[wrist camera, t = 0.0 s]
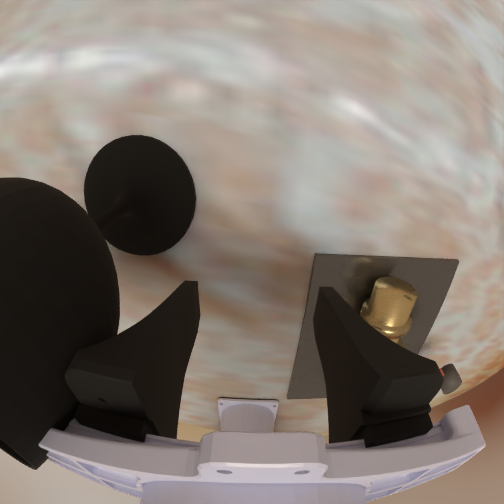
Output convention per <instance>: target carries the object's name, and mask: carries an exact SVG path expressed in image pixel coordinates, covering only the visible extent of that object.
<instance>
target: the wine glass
mask: <svg viewBox="0 0 504 504" xmlns="http://www.w3.org/2000/svg"><path fill="white" fill-rule="evenodd" d="M84 198H85V204H86V209H87V212H88V214H89V215H88V214H87V212H86V211H85V210H84V209H83V208H82V207H81V206H80V205H79V204H78V203H77V202H76V201H74V200H73V199H71V198H70V197H69V196H67V195H66V194H64V193H63V192H62V191H60V190H58V189H56V188H54V187H51V186H49V185H47V184H45V183H42V182H39V181H35V180H30V179H26V178H0V448H1V449H2V450H3V451H5V452H6V453H8V454H9V455H10V456H12V457H13V458H15V459H16V460H18V461H19V462H21V463H23V464H24V465H26V466H28V467H30V468H32V469H35V470H36V469H38V468H39V467H40V466H41V465H42V464H43V463H44V462H45V461H46V460H47V459H48V458H49V457H48V456H47V455H46V454H47V453H48V452H49V451H48V450H45V449H43V448H41V447H40V446H39V443H40V442H41V441H42V439H43V438H44V437H45V435H46V434H47V433H48V431H49V430H50V429H51V428H54V429H58V430H61V431H65V429H66V428H67V427H68V426H69V423H70V421H71V420H73V419H74V415H75V413H76V410H77V408H78V406H79V404H80V402H79V401H78V399H77V398H76V396H75V395H74V393H73V392H72V390H71V389H70V388H69V386H68V384H67V382H66V380H65V372H66V370H67V368H68V367H69V365H70V363H71V361H72V359H73V358H74V356H75V354H76V353H77V351H78V350H80V349H83V348H86V347H89V346H92V345H95V344H98V343H100V342H103V341H105V340H107V339H109V338H112V337H114V336H116V335H117V333H118V327H119V318H120V299H119V287H118V279H117V273H116V269H115V265H114V262H113V259H112V255H111V253H110V250H109V248H108V245H107V243H106V241H105V240H107V241H108V242H109V243H110V244H111V245H113V246H115V247H116V248H118V249H120V250H122V251H124V252H127V253H131V254H135V255H153V254H158V253H161V252H163V251H166V250H167V249H169V248H171V247H173V246H174V245H175V244H176V243H177V242H178V241H179V240H180V239H181V238H182V237H183V236H184V234H185V233H186V231H187V229H188V228H189V226H190V224H191V221H192V218H193V215H194V210H195V200H196V197H195V189H194V184H193V180H192V177H191V175H190V173H189V170H188V168H187V166H186V165H185V163H184V162H183V160H182V159H181V158H180V156H179V155H178V154H177V153H176V152H175V151H174V150H173V149H172V148H170V147H169V146H168V145H167V144H165V143H163V142H161V141H160V140H157V139H155V138H152V137H148V136H143V135H130V136H125V137H121V138H118V139H116V140H113V141H112V142H110V143H108V144H107V145H105V146H104V147H103V148H102V149H101V150H100V151H99V152H98V153H97V154H96V156H95V157H94V158H93V160H92V162H91V164H90V165H89V168H88V171H87V174H86V178H85V184H84Z"/></svg>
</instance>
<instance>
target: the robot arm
mask: <svg viewBox="0 0 504 504" xmlns="http://www.w3.org/2000/svg"><path fill="white" fill-rule="evenodd" d="M199 320H200V305H199V294H198V281H184V282H183V283H182V284H181V285H180V286H179V287H178V288H177V289H176V290H175V291H174V292H173V293H172V294H171V295H170V296H169V297H168V298H167V299H166V300H165V301H164V302H163V303H161V304H160V305H159V306H158V307H157V308H156V309H155V310H153V311H152V312H151V313H150V314H149V315H148V316H146V317H145V318H144V319H142V320H141V321H139V322H138V323H136V324H135V325H133V326H132V327H130V328H128V329H126V330H125V331H123V332H121V333H119V334H118V335H116V336H114V337H112V338H109V339H107V340H105V341H103V342H100V343H98V344H95V345H92V346H89V347H86V348H83V349H80V350H78V351H77V353H76V354H75V356H74V358H73V359H72V361H71V363H70V365H69V367H68V368H67V370H66V372H65V380H66V382H67V384H68V386H69V388H70V389H71V390H72V392H73V393H74V395H75V396H76V398H77V399H78V401H79V402H80V404H79V406H78V408H77V410H76V413H75V415H74V419H73V420H71V421H70V423H69V426H68V427H67V428H66V429H65V431H61V430H58V429H54V428H51V429H50V430H49V431H48V433H47V434H46V435H45V437H44V438H43V439H42V441H41V442H40V443H39V446H40V447H41V448H43V449H45V450H48V451H49V452H48V453H47V454H46V455H47V456H48V457H49V458H48V460H50V461H52V462H53V463H55V464H58V465H60V466H62V467H64V468H66V469H68V470H70V471H72V472H74V473H76V474H79V475H81V476H83V477H85V478H88V479H90V480H92V481H95V482H97V483H99V484H102V485H104V486H107V487H110V488H112V489H115V490H118V491H120V492H123V493H126V494H129V495H133V496H135V497H139V498H141V502H140V504H366V502H368V501H372V500H375V499H379V498H382V497H385V496H389V495H391V494H395V493H397V492H400V491H403V490H406V489H409V488H412V487H414V486H417V485H419V484H422V483H424V482H427V481H429V480H432V479H434V478H437V477H439V476H441V475H443V474H446V473H448V472H450V471H453V470H455V469H456V468H457V467H459V466H460V465H462V464H463V463H465V462H466V461H467V460H469V459H470V458H471V457H473V456H474V455H475V454H476V453H478V452H479V451H480V450H482V449H483V448H484V447H485V445H486V444H485V441H484V439H483V437H482V434H481V432H480V429H479V427H478V424H477V422H476V420H475V418H474V415H473V413H472V411H471V409H470V406H469V405H466V406H463V407H460V408H457V409H454V410H452V411H450V412H448V413H447V414H445V415H444V416H443V418H442V419H441V420H440V421H439V422H436V423H433V424H432V422H431V419H430V416H429V414H428V413H429V412H430V411H431V407H430V405H429V403H430V402H431V400H432V399H433V398H434V397H435V395H436V394H437V393H438V391H439V390H440V388H441V387H442V385H443V381H444V378H443V375H442V373H441V371H440V369H439V367H438V365H437V364H436V362H435V361H433V360H430V359H428V358H425V357H422V356H420V355H418V354H415V353H413V352H411V351H409V350H407V349H405V348H404V347H402V346H400V345H398V344H397V343H395V342H393V341H392V340H390V339H389V338H387V337H386V336H384V335H383V334H381V333H380V332H379V331H377V330H376V329H375V328H374V327H372V326H371V325H370V324H369V323H368V322H366V321H365V320H364V319H363V318H362V317H361V316H360V315H359V314H358V313H357V312H356V311H355V310H354V309H353V308H352V307H351V306H350V305H349V304H348V303H347V302H346V301H345V300H344V299H343V298H342V297H341V296H340V295H339V293H338V292H337V291H336V290H335V289H334V288H333V287H323V286H320V287H319V292H318V297H317V302H316V307H315V311H314V316H313V327H314V335H315V341H316V345H317V349H318V353H319V357H320V361H321V365H322V369H323V373H324V378H325V385H326V394H327V405H328V421H329V444H325V441H324V437H323V436H321V435H318V434H316V433H314V432H301V431H299V432H274V423H275V419H276V414H277V410H278V405H279V402H278V401H277V400H246V399H227V398H219V399H218V410H219V418H220V431H214V432H211V433H208V434H205V435H204V436H203V437H202V439H201V442H192V441H185V440H178V439H177V427H178V418H179V409H180V402H181V395H182V389H183V383H184V377H185V373H186V369H187V366H188V362H189V359H190V356H191V352H192V349H193V346H194V342H195V339H196V336H197V332H198V327H199Z"/></svg>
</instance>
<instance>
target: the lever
mask: <svg viewBox="0 0 504 504" xmlns="http://www.w3.org/2000/svg"><path fill="white" fill-rule="evenodd" d="M440 371H441V373H442V375H443V378H444V381H443V385H442V387H441V389H442V391H443V394H449V393H451V392H453V391H454V390H456V389H457V388H458V387H459V386H460V385H461V383H462V380H461V378H460V376H459V374H458V372H457V370H456V369H455V367H454V365H453V364H448V365H445V366H444V367H442V368H441V369H440Z"/></svg>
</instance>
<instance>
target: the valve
mask: <svg viewBox="0 0 504 504" xmlns="http://www.w3.org/2000/svg"><path fill="white" fill-rule="evenodd" d="M458 264H459V261H458V260H456V259H433V258H410V257H386V256H363V255H339V254H315V257H314V263H313V270H312V276H311V282H310V288H309V293H308V299H307V305H306V310H305V315H304V321H303V326H302V331H301V336H300V341H299V346H298V350H297V355H296V360H295V364H294V369H293V373H292V378H291V382H290V386H289V390H288V395H287V399H312V398H327V394H326V385H325V378H324V373H323V369H322V365H321V361H320V357H319V353H318V349H317V345H316V341H315V335H314V327H313V316H314V311H315V307H316V302H317V297H318V292H319V287H320V286H323V287H333V288H334V289H335V290H336V291H337V292H338V293H339V295H340V296H341V297H342V298H343V299H344V300H345V301H346V302H347V303H348V304H349V305H350V306H351V307H352V308H353V309H354V310H355V311H356V312H357V313H358V314H359V315H360V316H361V317H362V318H363V319H364V320H365V321H366V322H368V323H369V324H370V325H371V326H372V327H374V328H375V329H376V330H377V331H379V332H380V333H381V334H383V335H384V336H386V337H387V338H389V339H390V340H392V341H393V342H395V343H397V344H398V345H400V346H402V347H404V348H405V349H407V350H409V351H411V352H413V353H415V354H418V353H419V351H420V349H421V347H422V345H423V343H424V341H425V340H426V338H427V336H428V334H429V332H430V330H431V328H432V326H433V324H434V321H435V319H436V317H437V315H438V313H439V311H440V309H441V306H442V304H443V302H444V299H445V297H446V295H447V292H448V290H449V287H450V285H451V282H452V280H453V277H454V275H455V272H456V269H457V266H458Z"/></svg>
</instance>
